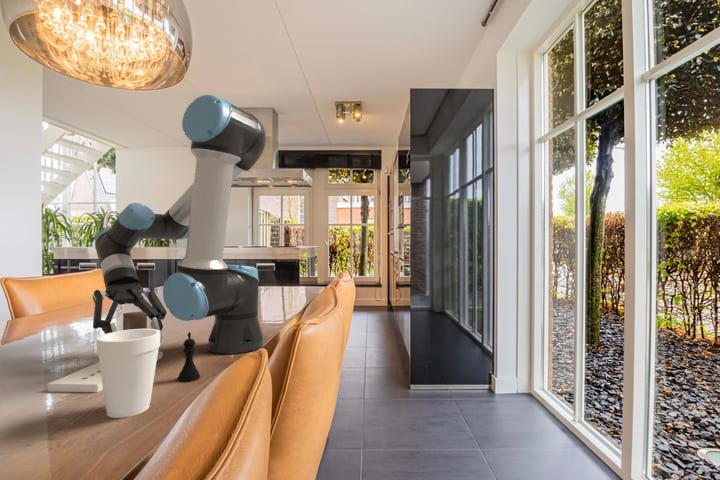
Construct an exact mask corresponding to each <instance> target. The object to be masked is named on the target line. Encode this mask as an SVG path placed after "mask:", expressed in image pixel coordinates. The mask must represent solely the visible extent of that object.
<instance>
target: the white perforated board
mask: <svg viewBox="0 0 720 480" xmlns="http://www.w3.org/2000/svg"><path fill="white" fill-rule="evenodd" d="M163 356H164V355H163V351H158V355H157V361H159V360H161V359H163ZM101 391H103V385H102V378H101V371H100V364H99V361H97V362H96V363H93V364H91V365H89V366H86V367H84V368H82V369H80V370H78V371H75V372H72V373H70V374H67V375H66V376H63V377H61V378H58V379H55V380H53V381H51V382H49V383H47V392H52V393H53V392H54V393H55V392H56V393H57V392H58V393H63V392H64V393H99V392H101Z"/></svg>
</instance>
